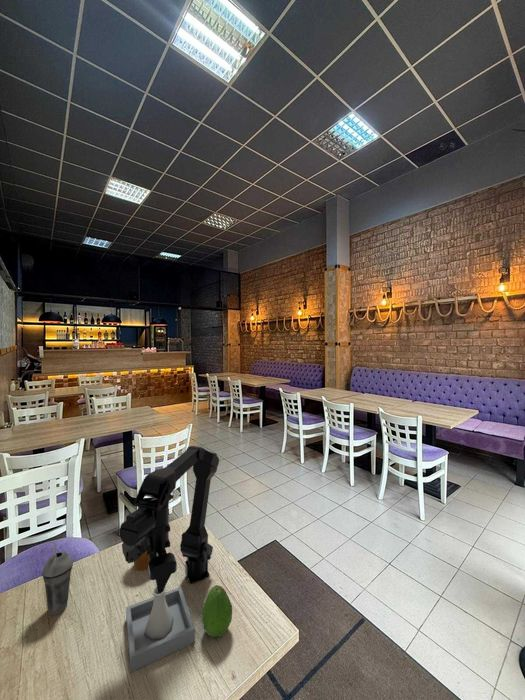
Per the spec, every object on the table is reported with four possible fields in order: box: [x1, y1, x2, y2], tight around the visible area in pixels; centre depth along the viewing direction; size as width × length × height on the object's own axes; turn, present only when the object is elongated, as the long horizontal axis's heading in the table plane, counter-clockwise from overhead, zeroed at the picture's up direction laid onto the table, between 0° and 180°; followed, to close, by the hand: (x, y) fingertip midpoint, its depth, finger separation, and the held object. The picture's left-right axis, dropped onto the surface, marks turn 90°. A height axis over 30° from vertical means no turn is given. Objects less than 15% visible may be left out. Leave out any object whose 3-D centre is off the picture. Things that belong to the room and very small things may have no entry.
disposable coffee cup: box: [133, 551, 150, 572], centre depth 102 cm, size 10×10×12 cm
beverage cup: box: [41, 540, 74, 616], centre depth 85 cm, size 7×7×20 cm
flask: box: [144, 586, 173, 640], centre depth 79 cm, size 7×7×10 cm
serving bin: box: [125, 586, 196, 673], centre depth 79 cm, size 15×15×4 cm
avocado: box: [201, 585, 233, 638], centre depth 78 cm, size 8×8×12 cm
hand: (157, 579), depth 79 cm, fingers open, 9 cm apart
